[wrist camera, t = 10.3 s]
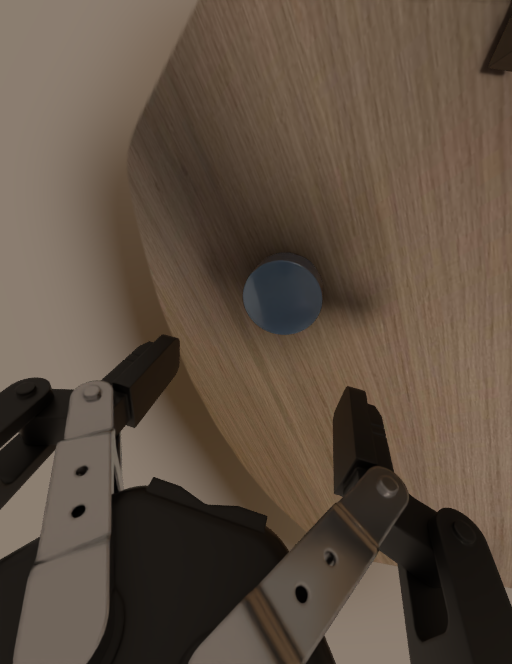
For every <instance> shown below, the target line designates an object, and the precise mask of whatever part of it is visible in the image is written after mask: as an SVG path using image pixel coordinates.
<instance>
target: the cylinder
mask: <svg viewBox="0 0 512 664" xmlns="http://www.w3.org/2000/svg"><path fill="white" fill-rule="evenodd" d="M322 297H323V284H322V279H321V276H320V274H319V272H318V270H317V269H316V267H315V266H314V265H313V264H312V263H311V262H310V261H309V260H307V259H306V258H304V257H302V256H300V255H297V254H294V253H287V252H286V253H276V254H273V255H271V256H268V257H267V258H265V259H263V260H262V261H261V262H260V263H259V264H258V265H257V266H256V268H255V269H254V270H253V271H252V273H251V274H250V275H249V277H248V279H247V280H246V283H245V285H244V289H243V303H244V306H245V309H246V312H247V313H248V315H249V317H250V318H251V319H252V320H253V322H254V323H255V324H257V325H258V326H259V327H261V328H262V329H264V330H266V331H268V332H271V333H274V334H280V335H289V334H295V333H298V332H300V331H302V330H304V329H306V328H308V327H309V326H310V325H311V324H312V323H313V322H314V321H315V320H316V318H317V317H318V315H319V313H320V310H321V307H322Z"/></svg>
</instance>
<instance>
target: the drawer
mask: <svg viewBox="0 0 512 664" xmlns="http://www.w3.org/2000/svg"><path fill="white" fill-rule="evenodd" d="M488 68H492V69H499V70H506V71H512V15H511V17H510V20H509V22H508V24H507V26H506V28H505V30H504V33H503V35H502V37H501V39H500V41H499V43H498V46H497V48H496V50H495V52H494V54H493V57H492V59H491V61H490V63H489V65H488Z"/></svg>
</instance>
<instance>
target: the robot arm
mask: <svg viewBox="0 0 512 664" xmlns="http://www.w3.org/2000/svg"><path fill="white" fill-rule="evenodd" d="M179 357H180V341H179V339H178V338H175V337H172V336H168V335H161V336H160V337H159V338H158V339H157V340H156V341H155V342H154V343H153V342H150V341H149V342H147V343H145V344H143V345H140V346H139V347H138V348H136V349H135V350H134V351H133V352H132V354H130V355H129V356H128V357H126V359H125V360H123V361H122V362H121V363H120V364H119V365H118V366H117V367H116V368H115V369H113V370H112V371H111V372H110V373H109V374H108V375H107V376H105V377H104V378H103V379H102V380H101V381H98V380H96V381H90V382H86V383H84V384H82V385H80V386H78V387H77V388H76V389H75V390H67V389H52V388H51V385H50V383H49V381H47V380H46V379H43V378H28V379H24V380H20V381H18V382H16V383H14V384H12V385H10V386H9V387H8V388H6V389H5V390H3V391H2V392H0V448H1V447H2V446H3V445H4V444H5V443H6V442H7V441H8V440H10V439H11V438H12V437H13V436H14V435H15V434H16V433H18V432H19V434H18V435H17V436H16V437H15V438H14V439H13V440H11V441H10V442H9V443H8V444H7V445H6V446H5V447H4V448H3V449H2V450H0V509H1V508H2V507H3V506H4V505H5V504H6V503H7V502H8V501H9V499H10V498H11V497H12V496H13V495H14V494H15V493H16V492H17V491H18V490H19V489H20V488H21V486H22V485H23V484H24V483H25V482H26V481H27V480H28V479H29V478H30V476H32V474H33V473H34V472H35V471H36V470H37V469H38V468H39V467H40V466H41V465H42V463H43V462H44V461H45V460H46V459H47V458H48V457H49V456H50V455H51V454H52V453H53V451H54V450H55V449H56V450H55V456H54V462H53V467H52V473H51V478H50V484H49V490H48V496H47V502H46V507H45V512H44V518H43V524H42V530H41V535H40V537H38V538H37V539H35V540H33V541H31V542H30V543H28V544H26V545H25V546H23V547H21V548H19V549H18V550H16V551H14V552H12V553H11V554H9V555H8V556H6V557H4V558H2V559H1V560H0V664H336V663H335V660H334V658H333V655H332V653H331V650H330V648H329V646H328V643H327V641H326V638H325V636H324V635H325V633H326V631H327V630H328V629H329V627H330V626H331V624H332V623H333V621H334V619H335V618H336V616H337V615H338V613H339V611H340V610H341V609H342V607H343V606H344V604H345V603H346V601H347V600H348V598H349V597H350V595H351V594H352V592H353V590H354V589H355V587H356V586H357V584H358V583H359V582H360V580H361V579H362V577H363V575H364V574H365V572H366V571H367V569H368V568H369V566H370V565H371V563H372V562H373V560H374V559H375V557H376V556H377V554H378V552H379V550H380V551H381V552H382V553H384V554H385V555H387V556H388V557H389V558H391V559H392V560H393V561H395V562H396V563H398V570H399V578H400V585H401V593H402V601H403V609H404V616H405V624H406V632H407V639H408V647H409V654H410V662H411V664H512V606H511V604H510V601H509V599H508V596H507V593H506V591H505V588H504V585H503V583H502V580H501V578H500V575H499V572H498V570H497V567H496V565H495V562H494V559H493V557H492V554H491V552H490V549H489V546H488V544H487V541H486V539H485V537H484V536H483V534H482V532H481V531H480V530H479V528H478V527H477V526H476V525H475V524H474V523H473V522H472V521H471V520H470V519H469V518H468V517H467V516H465V515H464V514H463V513H461V512H459V511H457V510H455V509H452V508H442V509H440V510H439V511H438V512H436V511H434V510H433V509H431V508H430V507H428V506H426V505H425V504H423V503H421V502H420V501H418V500H417V499H415V498H414V497H412V496H411V495H410V494H409V493H408V490H407V488H406V486H405V484H404V483H403V481H402V480H401V479H400V478H399V477H398V476H397V475H396V474H395V473H394V470H393V465H392V461H391V456H390V452H389V447H388V443H387V438H386V434H385V429H384V425H383V420H382V416H381V415H380V413H379V412H378V410H377V409H376V407H375V406H373V405H370V404H368V403H367V397H366V392H365V391H363V390H360V389H356V388H353V387H349V386H347V387H346V388H345V390H344V392H343V395H342V397H341V399H340V401H339V403H338V405H337V407H336V410H335V412H334V417H333V462H334V494H336V495H340V496H343V498H342V499H341V500H340V501H339V502H338V503H335V504H334V505H333V506H332V507H331V508H330V509H329V510H328V511H327V512H326V513H325V514H324V515H323V516H322V517H321V518H320V519H319V520H318V522H317V523H316V524H315V525H314V526H313V527H312V528H311V529H310V530H309V531H308V532H307V533H306V535H304V537H303V538H302V539H301V540H300V541H299V542H298V543H297V544H296V545H295V546H294V547H293V548H292V549H291V551H288V549H287V547H286V546H285V545H284V543H283V542H282V540H281V539H280V538H279V537H278V536H277V535H276V534H275V533H274V532H273V531H272V530H271V529H269V528H268V527H267V526H266V521H267V516H265V515H263V514H259V513H257V512H254V511H251V510H248V509H245V508H242V507H239V506H222V505H207V504H204V503H203V502H202V501H200V500H199V499H197V498H196V497H195V496H193V495H192V494H191V493H189V492H188V491H186V490H185V489H183V488H182V487H181V486H178V485H175V484H172V483H169V482H167V481H164V480H161V479H158V478H155V477H153V479H152V481H151V482H150V484H149V486H136V487H132V488H128V489H125V490H124V487H123V477H122V453H121V430H122V429H123V428H124V427H125V425H127V426H130V427H133V428H135V427H136V426H137V425H138V423H139V422H140V421H141V420H142V418H143V417H144V416H145V414H146V413H147V412H148V410H149V409H150V408H151V406H152V405H153V404H154V403H155V401H156V399H158V397H159V396H160V395H161V393H162V392H163V391H164V389H165V388H166V387H167V386H168V384H169V383H170V382H171V380H172V379H173V378H174V376H175V375H176V373H177V371H178V368H179Z"/></svg>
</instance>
